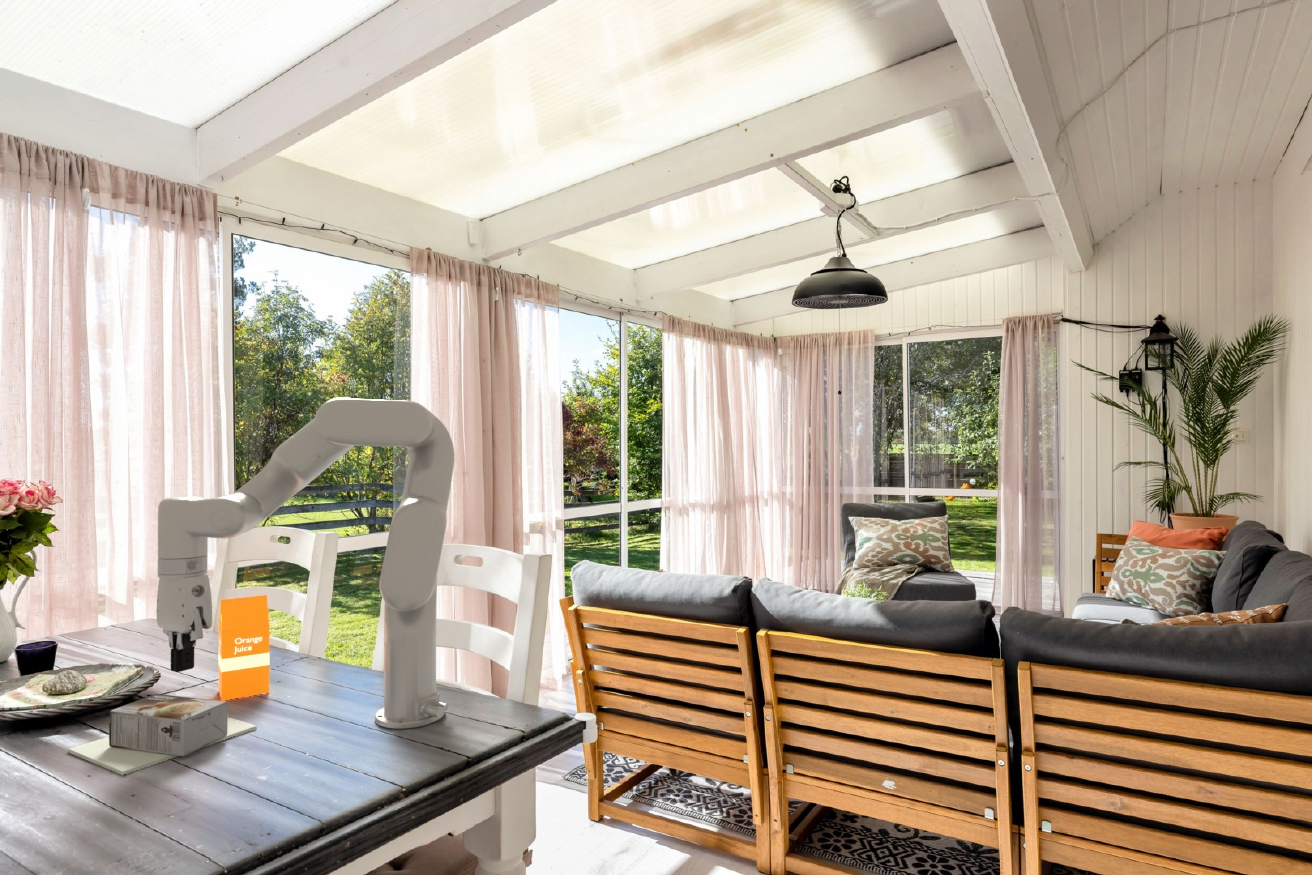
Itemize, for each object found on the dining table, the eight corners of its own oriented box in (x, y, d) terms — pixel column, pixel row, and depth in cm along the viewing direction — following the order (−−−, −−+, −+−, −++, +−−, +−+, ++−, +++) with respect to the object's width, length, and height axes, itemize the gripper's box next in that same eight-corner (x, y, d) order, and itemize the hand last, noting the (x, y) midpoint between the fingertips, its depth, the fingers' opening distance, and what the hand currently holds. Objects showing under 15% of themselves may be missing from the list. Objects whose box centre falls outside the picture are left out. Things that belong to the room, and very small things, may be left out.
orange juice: (269, 693, 157) (269, 597, 157) (221, 701, 152) (221, 603, 152) (264, 683, 163) (264, 591, 164) (218, 691, 158) (218, 596, 159)
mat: (256, 729, 137) (256, 725, 137) (122, 775, 118) (122, 771, 118) (201, 711, 146) (201, 708, 146) (68, 752, 127) (68, 748, 127)
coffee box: (228, 737, 132) (157, 727, 136) (228, 700, 132) (157, 692, 136) (182, 757, 123) (108, 747, 128) (182, 718, 123) (108, 709, 128)
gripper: (228, 566, 133) (228, 670, 133) (181, 560, 140) (181, 658, 140) (184, 573, 126) (183, 682, 126) (137, 566, 134) (137, 669, 134)
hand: (182, 669), depth 133 cm, fingers closed
